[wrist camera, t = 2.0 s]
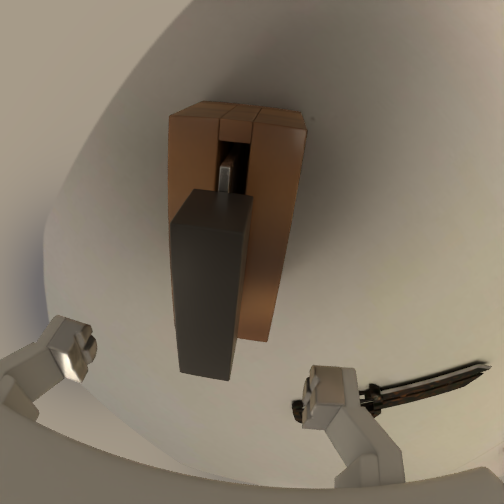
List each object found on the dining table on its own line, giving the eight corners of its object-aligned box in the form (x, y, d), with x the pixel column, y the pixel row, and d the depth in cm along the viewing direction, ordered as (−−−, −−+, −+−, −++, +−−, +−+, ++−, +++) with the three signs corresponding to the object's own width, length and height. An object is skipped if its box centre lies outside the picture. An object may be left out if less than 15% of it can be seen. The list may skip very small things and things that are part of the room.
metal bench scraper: (226, 129, 17) (167, 193, 9) (267, 133, 17) (247, 203, 9) (216, 268, 23) (180, 383, 15) (249, 273, 23) (228, 392, 15)
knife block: (202, 100, 18) (168, 115, 13) (301, 111, 17) (307, 129, 12) (195, 272, 25) (174, 327, 20) (272, 284, 24) (267, 342, 19)
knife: (493, 354, 28) (496, 363, 26) (478, 384, 31) (481, 392, 30) (289, 392, 33) (289, 403, 32) (296, 417, 36) (296, 427, 35)
